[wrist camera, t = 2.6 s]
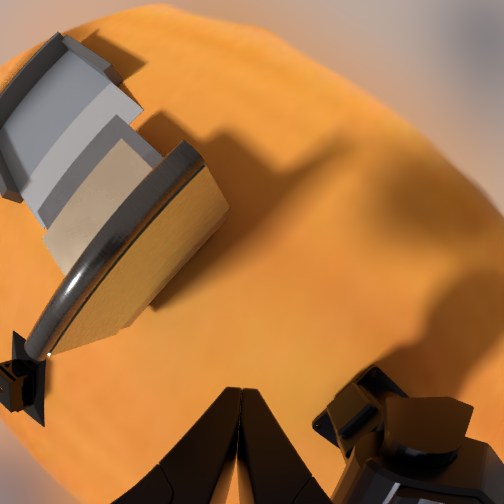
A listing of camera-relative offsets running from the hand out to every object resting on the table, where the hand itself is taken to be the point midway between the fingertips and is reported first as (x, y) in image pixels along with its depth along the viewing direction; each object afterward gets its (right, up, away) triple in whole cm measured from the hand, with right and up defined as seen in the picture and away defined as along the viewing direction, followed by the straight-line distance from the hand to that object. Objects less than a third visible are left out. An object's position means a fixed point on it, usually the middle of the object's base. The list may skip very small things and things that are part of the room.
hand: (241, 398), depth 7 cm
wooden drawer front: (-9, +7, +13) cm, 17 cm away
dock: (-21, +17, +16) cm, 31 cm away
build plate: (-23, -9, +14) cm, 28 cm away
